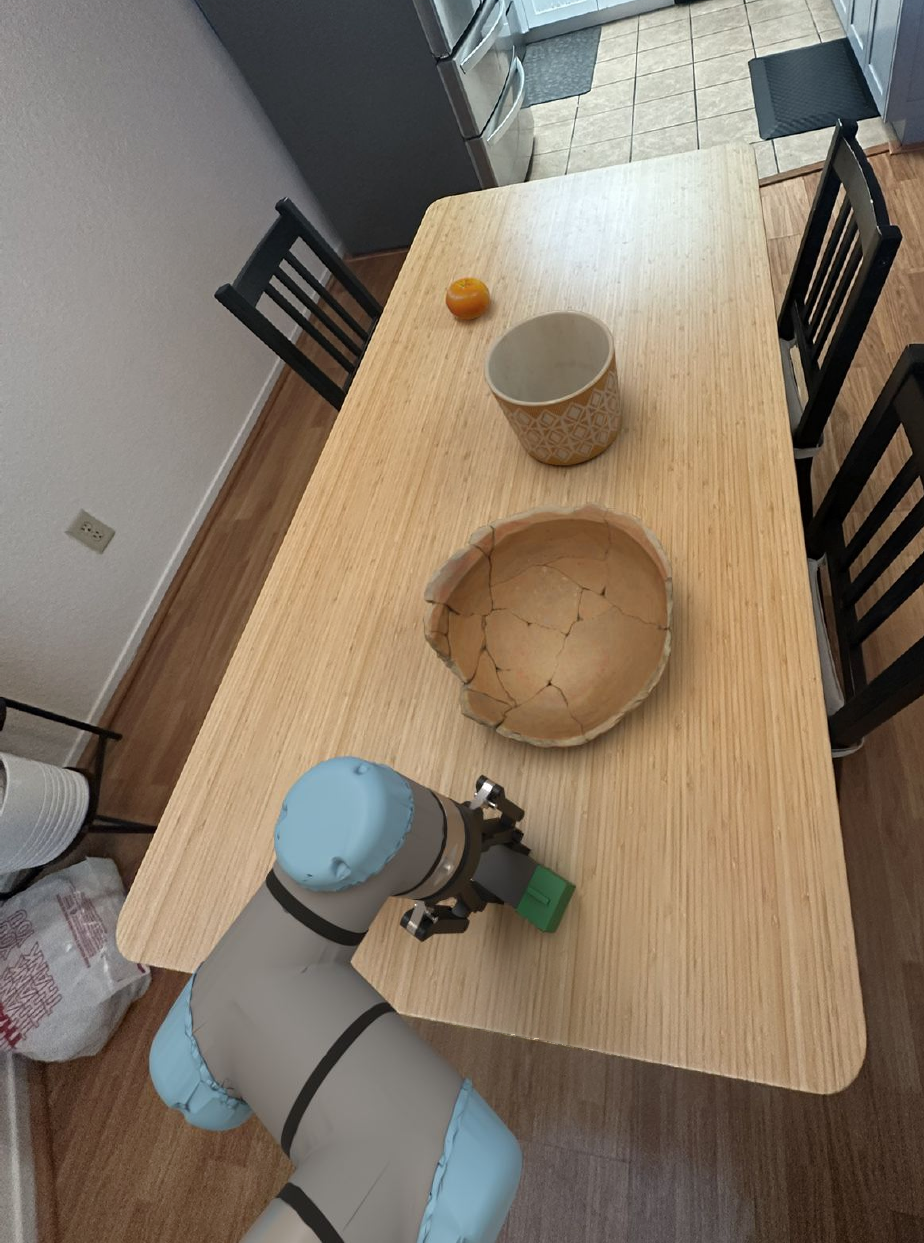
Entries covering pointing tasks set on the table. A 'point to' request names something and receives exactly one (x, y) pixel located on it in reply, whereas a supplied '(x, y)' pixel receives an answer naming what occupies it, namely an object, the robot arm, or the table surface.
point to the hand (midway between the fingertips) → (507, 869)
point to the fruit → (468, 298)
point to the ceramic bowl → (554, 621)
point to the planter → (557, 385)
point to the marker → (525, 886)
